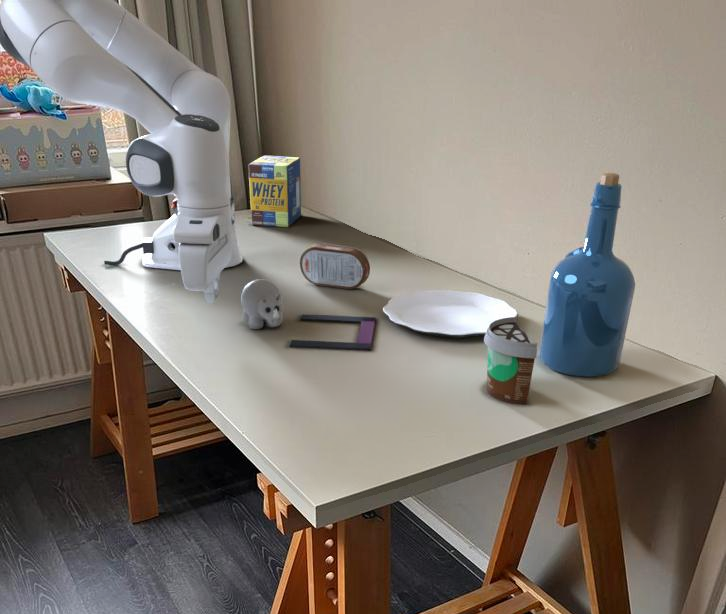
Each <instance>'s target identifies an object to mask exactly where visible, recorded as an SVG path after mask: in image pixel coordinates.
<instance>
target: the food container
mask: <svg viewBox="0 0 726 614" xmlns="http://www.w3.org/2000/svg"><path fill="white" fill-rule="evenodd" d="M483 342H484V345H486V346H487V367H486V393H487V394H488V395H489V396H490V397H492V398H494V399H495V400H497V401H501V402H504V403H509V404H513V405H527V403H528V399H529V392H530V387H531V383H532V376H533V371H534V365H535V360H536V359H537V358H538V357H537V355H538V354H537V353H538V343H537V342H531V341H530V340H529V337H528V334H527V333H526V331H525V330H522V329H521V328H520V326H519V325H518V316H517V317H508V318H502V319H498V320H496V321H494V322H492V323H491V324H490V326H489V327H488V329H487V331H486V334H485V335H484V337H483Z"/></svg>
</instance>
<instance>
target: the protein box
mask: <svg viewBox="0 0 726 614" xmlns="http://www.w3.org/2000/svg"><path fill="white" fill-rule="evenodd" d="M248 181H249V184H248V185H249V199H250V200H249V203H250V216H251V217H250V219H251V221H250V222H251V225H252V226H266V227H279V228H280V227H281V228H289V227H290V226H291V225H292V224H293V223H295V221H297V220H298V219H299V218H300V217H301V216H302V195H301V193H302V192H301V190H302V189H301V187H302V185H301V157H296V156H284V155H282V156H281V155H270V154H269V155H267V154H265V155H262V156H261V157H259V158H257V159H255V160H254V161H252V162H250V163H249V164H248Z"/></svg>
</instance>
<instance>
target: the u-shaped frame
mask: <svg viewBox="0 0 726 614" xmlns="http://www.w3.org/2000/svg"><path fill="white" fill-rule="evenodd" d="M376 319H377V318H376V317H373V316H351V315H349V316H348V315H329V314H327V315H326V314H304V313H303V314H302V315H301V317H300V321H301V322H319V323H321V322H322V323H323V322H326V323H345V324H346V323H347V324H348V323H349V324H360V327H359V331H358V335H357V341H356V342H348V341H324V340H306V339H305V340H303V339H301V340H300V339H291V341H290V343H289V348H298V349H299V348H300V349H322V350H323V349H324V350H326V349H327V350H346V351H366V352H369V351H371V349H372V342H373V338H374V337H373V336H374V332H375V331H374V330H375V325H376Z"/></svg>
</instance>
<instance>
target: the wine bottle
mask: <svg viewBox="0 0 726 614" xmlns="http://www.w3.org/2000/svg"><path fill="white" fill-rule="evenodd" d="M619 181H620V175H619V174H618V173H616V172H615V173H614V172H603V173H602V174H601V175H600V181H599V182H597V183H596V184H595V186H594V191H593V194H592V198H591V202H590V203H589V206H590V207H591V208H590V212H589V216H588V223H587V227H586V232H585V236H584V243H583V246H581V247H580V246H579V247H578V248H575V249H573V250H571V252H569V253H567V254H566V255H565V256H564V258H563V259H561V260H560V261H558V262H557V264H555V266H554V267H553V269H552V270H551V272H550V276H549V284H548V290H547V298H546V305H545V312H544V319H543V325H542V331H541V339H540V345H539V357H540V362H541V363H542V364H543V365H545V366H546V367H548V369H550V370H552V371H555V372H559V373H561V374H562V373H563V374H566V375H569V376H577V377H579V376H580V377H587V378H588V377H589V378H591V377H598V376H605V375H608V374H610V373H611V372H613V371H615V370H616V369H617V368H618V366H619V365H620V364H621V358H622V352H623V348H624V345H625V344H624V343H625V339H626V333H627V329H628V324H629V319H630V314H631V308H632V304H633V299H634V295H635V289H636V281H635V277H634V274H633V271H632V270H631V267H630V266H629V265H628V264H627V263H626V262H625V261H624V260H622V259H621V258H619V257H618V256H616V255H615V254H614V252H613V246H614V241H615V234H616V228H617V227H616V226H617V222H618V221H617V220H618V213H619V209H621V208H622V207H621V199H622V187H623V186H622V184H621V183H619Z"/></svg>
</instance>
